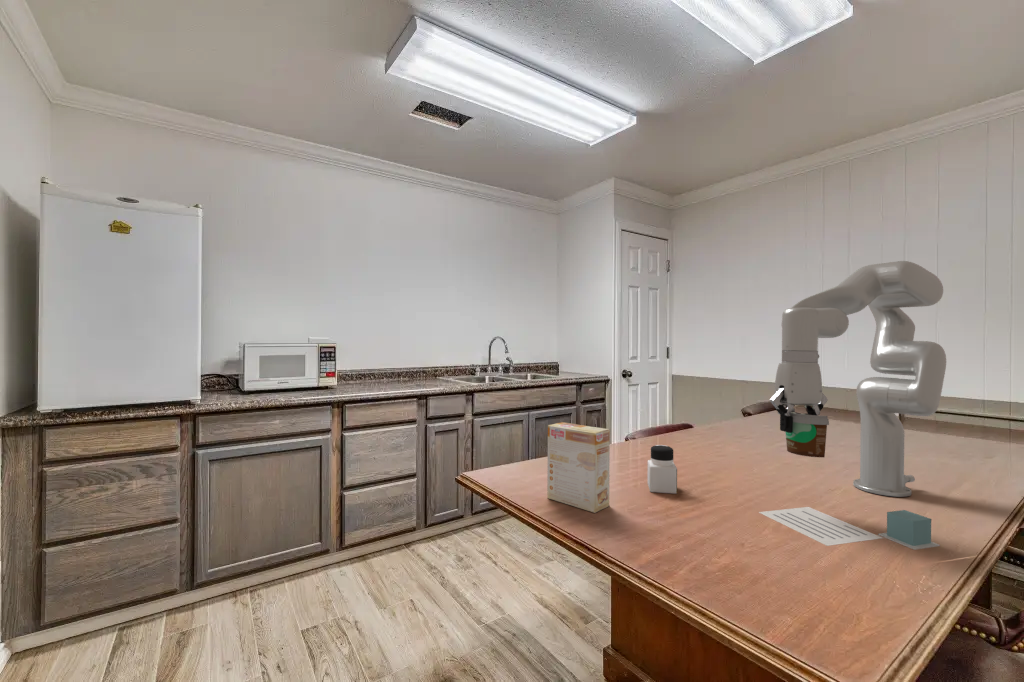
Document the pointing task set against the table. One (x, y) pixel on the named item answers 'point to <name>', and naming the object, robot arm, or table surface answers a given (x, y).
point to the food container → (807, 435)
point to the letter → (820, 526)
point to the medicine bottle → (662, 470)
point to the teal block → (909, 527)
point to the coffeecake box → (578, 465)
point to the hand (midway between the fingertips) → (798, 430)
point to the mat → (909, 544)
